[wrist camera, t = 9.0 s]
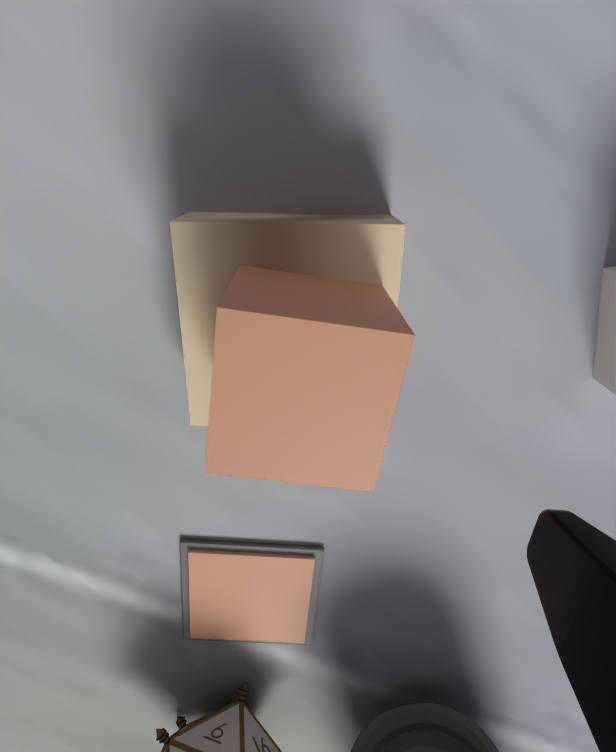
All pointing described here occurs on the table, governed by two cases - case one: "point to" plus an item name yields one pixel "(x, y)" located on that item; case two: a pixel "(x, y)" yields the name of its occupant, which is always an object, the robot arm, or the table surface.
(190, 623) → the tile
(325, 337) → the terracotta cube
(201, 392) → the maple base block
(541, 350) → the table surface
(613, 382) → the offwhite cube
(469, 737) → the bluetooth speaker
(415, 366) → the table surface
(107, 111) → the table surface
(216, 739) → the game die
